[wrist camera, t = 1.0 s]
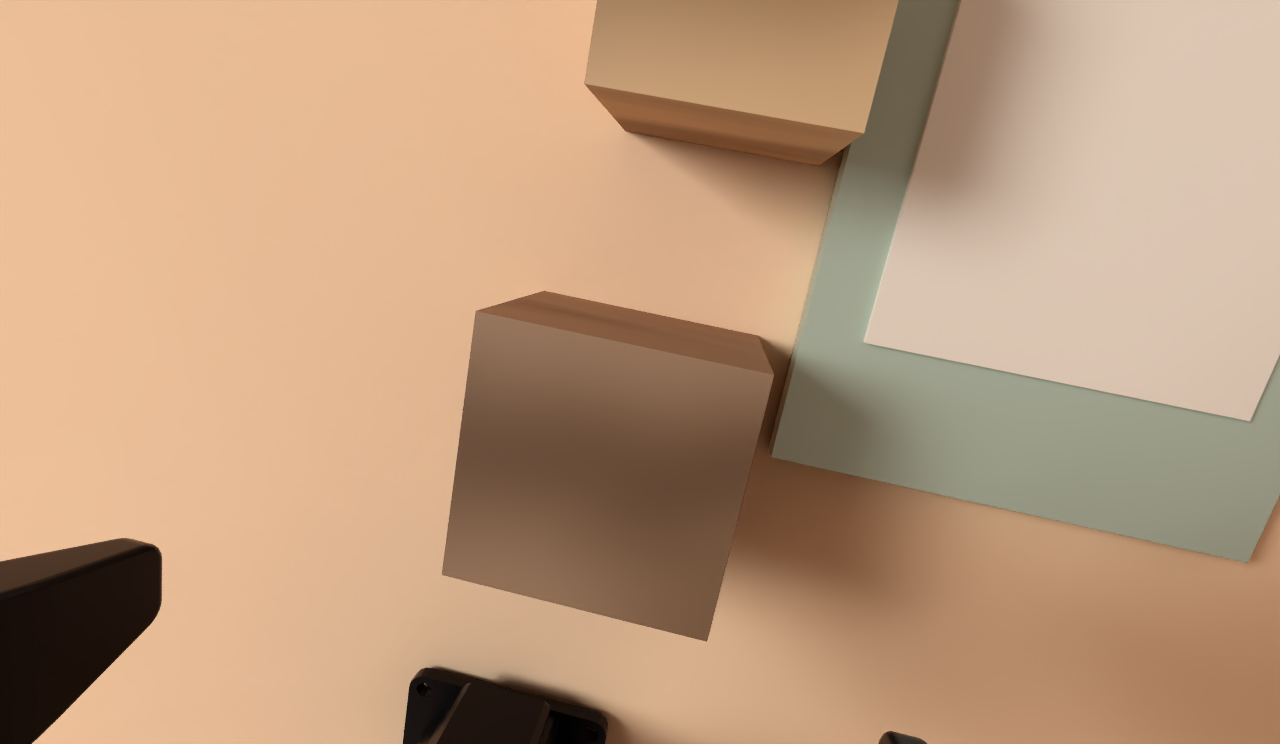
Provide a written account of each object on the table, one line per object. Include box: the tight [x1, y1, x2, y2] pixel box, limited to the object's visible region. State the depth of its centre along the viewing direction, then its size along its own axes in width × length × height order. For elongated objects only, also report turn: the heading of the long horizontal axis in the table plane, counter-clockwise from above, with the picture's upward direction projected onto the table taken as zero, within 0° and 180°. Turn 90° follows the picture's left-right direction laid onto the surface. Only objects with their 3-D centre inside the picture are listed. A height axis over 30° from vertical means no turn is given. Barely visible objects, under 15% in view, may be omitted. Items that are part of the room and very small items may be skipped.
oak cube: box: [584, 0, 899, 166], centre depth 13 cm, size 5×5×5 cm
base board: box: [769, 0, 1280, 563], centre depth 14 cm, size 16×12×1 cm
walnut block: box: [442, 291, 774, 641], centre depth 15 cm, size 6×6×5 cm
